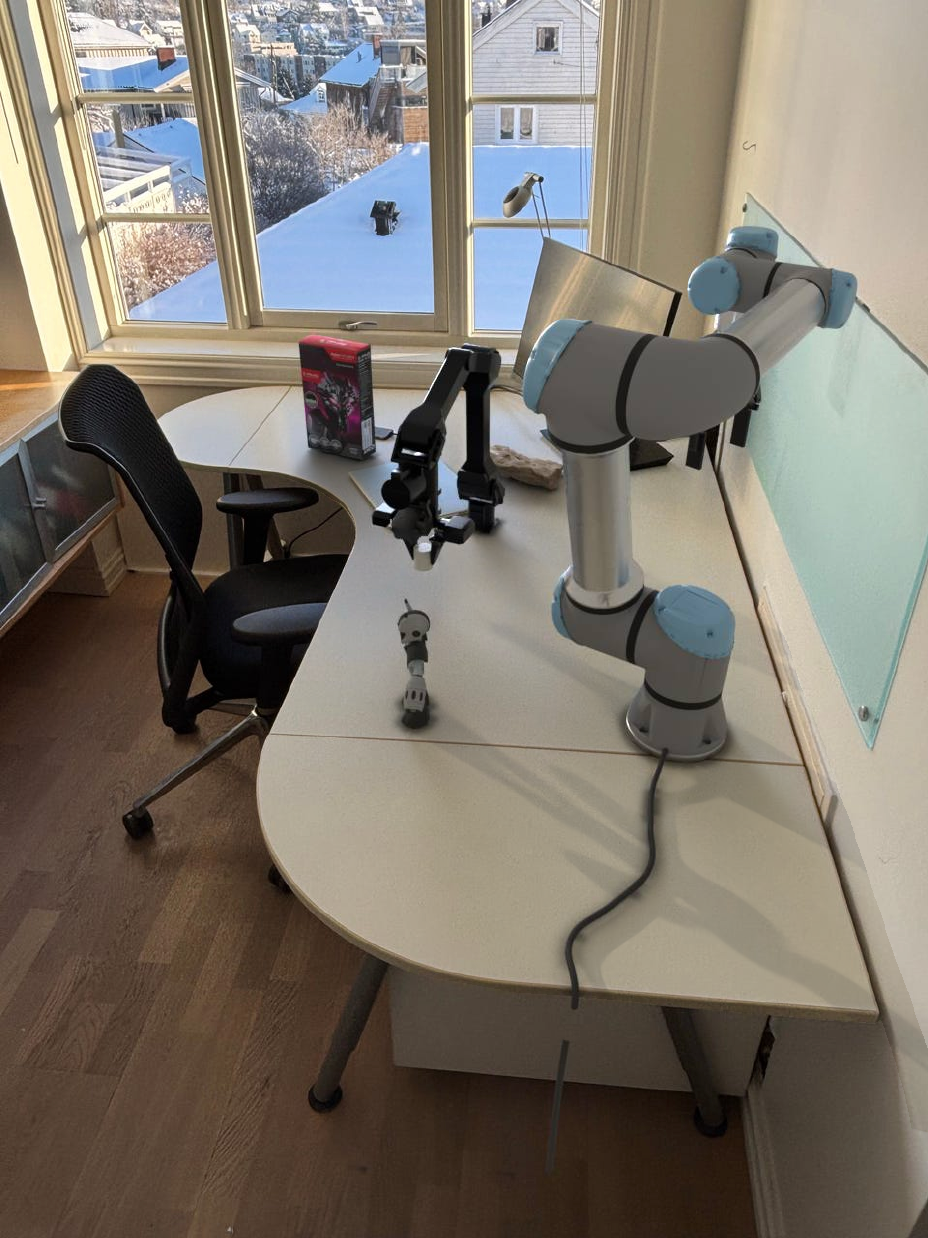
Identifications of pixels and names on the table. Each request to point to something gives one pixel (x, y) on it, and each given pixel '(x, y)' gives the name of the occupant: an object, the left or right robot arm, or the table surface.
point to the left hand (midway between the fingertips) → (423, 561)
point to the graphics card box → (338, 396)
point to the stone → (525, 467)
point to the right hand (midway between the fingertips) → (715, 456)
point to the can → (422, 557)
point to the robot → (415, 666)
